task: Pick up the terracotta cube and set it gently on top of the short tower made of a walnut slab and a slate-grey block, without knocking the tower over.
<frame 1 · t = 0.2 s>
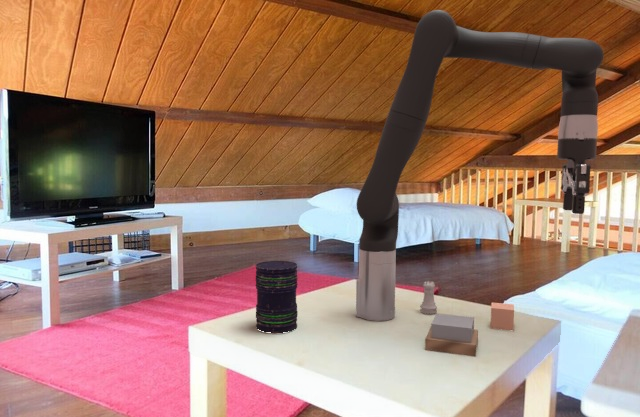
hand: (572, 211, 106), 28 cm above the table, fingers open, 8 cm apart
walnut base slab: (452, 347, 103), on the table, touching slate top block
storage jar: (276, 327, 114), on the table
rook chess piece: (428, 313, 126), on the table
terracotta cube: (501, 326, 115), on the table
slate top block: (452, 334, 103), point 2 cm above the table, touching walnut base slab
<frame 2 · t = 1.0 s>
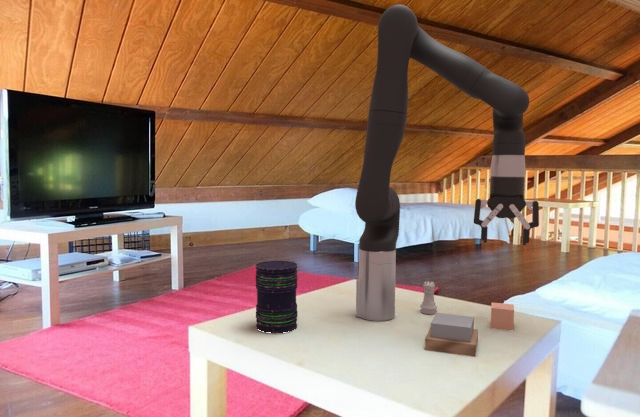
hand: (504, 243, 114), 20 cm above the table, fingers open, 8 cm apart
nothing on the table moved.
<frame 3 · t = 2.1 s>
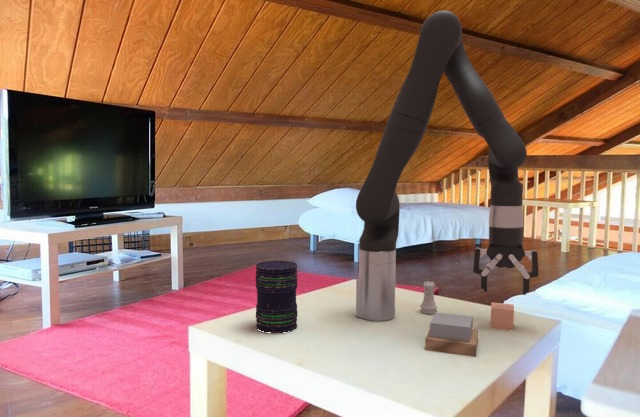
hand: (504, 292, 114), 8 cm above the table, fingers open, 8 cm apart
walnut base slab: (452, 347, 103), on the table
slate top block: (451, 333, 103), point 2 cm above the table
everything else where it was.
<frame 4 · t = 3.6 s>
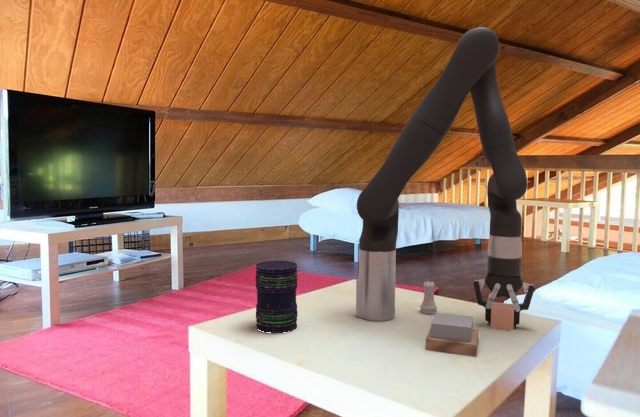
hand: (502, 324, 115), 0 cm above the table, fingers closed on terracotta cube, 5 cm apart
walnut base slab: (452, 347, 103), on the table, touching slate top block
terracotta cube: (501, 326, 115), on the table, touching gripper
slate top block: (452, 333, 103), point 2 cm above the table, touching walnut base slab
everything else where it was.
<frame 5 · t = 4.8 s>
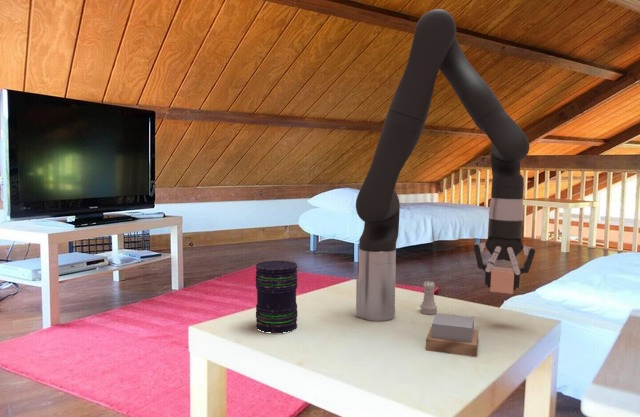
hand: (501, 287, 115), 9 cm above the table, fingers closed on terracotta cube, 5 cm apart
terracotta cube: (501, 290, 115), point 9 cm above the table, touching gripper
everything else where it was.
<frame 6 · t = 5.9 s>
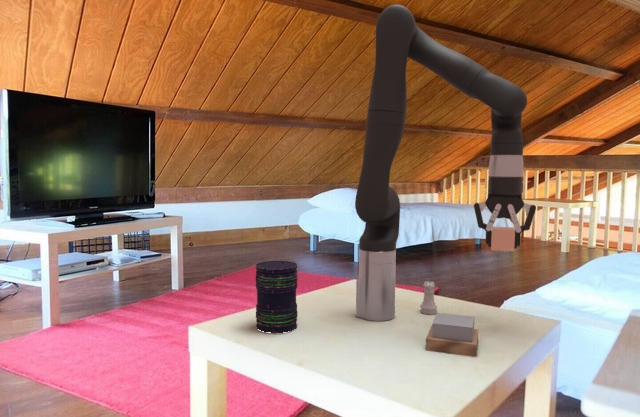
hand: (502, 246, 114), 19 cm above the table, fingers closed on terracotta cube, 5 cm apart
terracotta cube: (502, 249, 114), point 19 cm above the table, touching gripper
everything else where it was.
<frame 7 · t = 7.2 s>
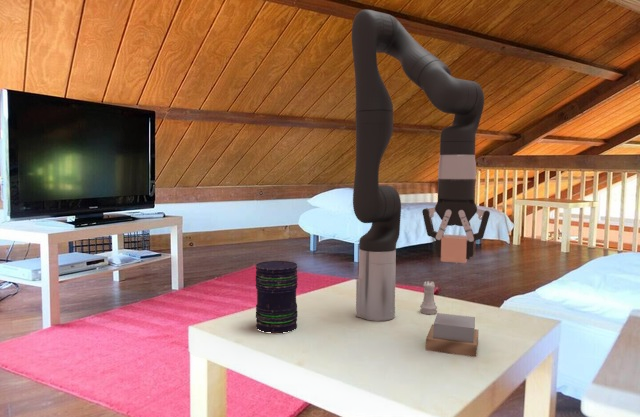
hand: (454, 257, 102), 19 cm above the table, fingers closed on terracotta cube, 5 cm apart
terracotta cube: (454, 260, 102), point 18 cm above the table, touching gripper
everything else where it was.
when the fingers open (7 cm above the table, at t = 10.3 s): terracotta cube drops 2 cm, resting on slate top block.
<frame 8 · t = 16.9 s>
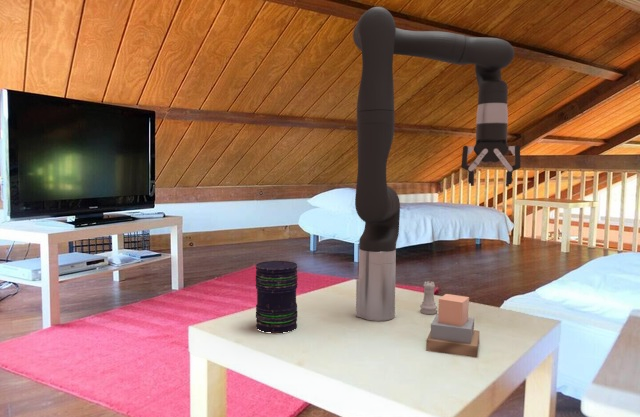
hand: (489, 186, 124), 33 cm above the table, fingers open, 8 cm apart
terracotta cube: (453, 321, 102), point 5 cm above the table, touching slate top block
slate top block: (452, 334, 103), point 2 cm above the table, touching terracotta cube, walnut base slab
everything else where it was.
at the end: terracotta cube 0.1 cm off-centre on the slate top block, point 3.0 cm above the slate top block's base; terracotta cube tilted 0°; slate top block 0.2 cm off-centre on the walnut base slab, point 3.0 cm above the walnut base slab's base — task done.
